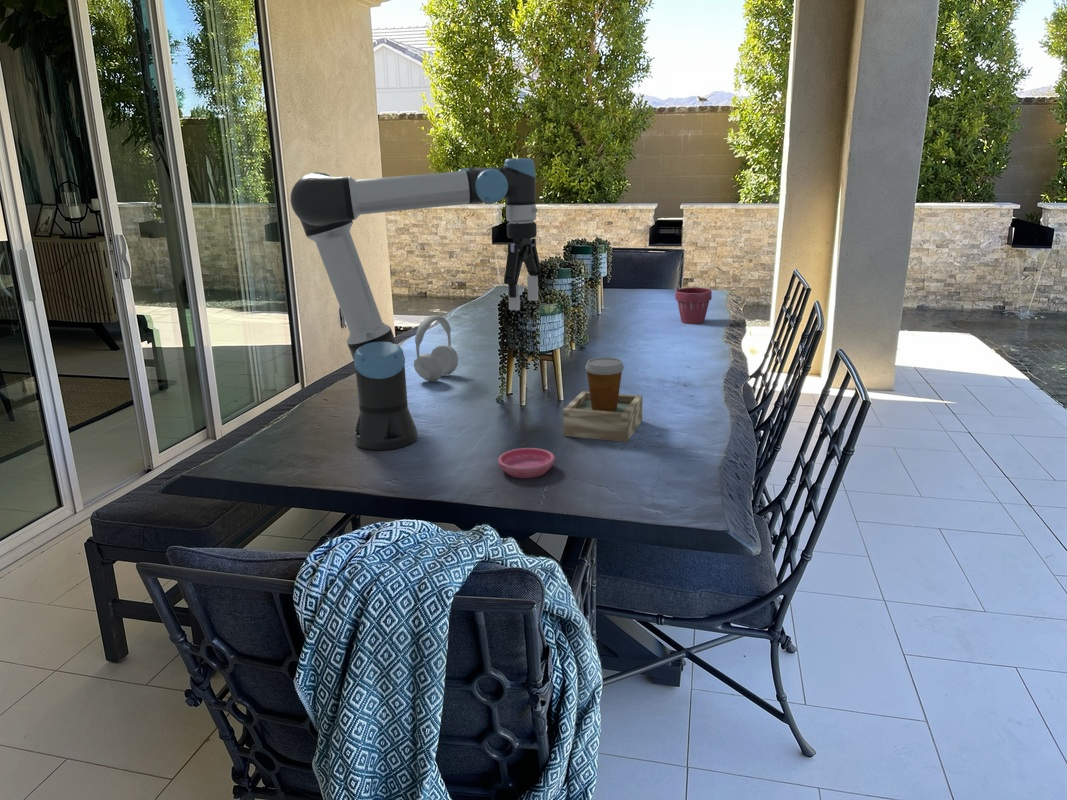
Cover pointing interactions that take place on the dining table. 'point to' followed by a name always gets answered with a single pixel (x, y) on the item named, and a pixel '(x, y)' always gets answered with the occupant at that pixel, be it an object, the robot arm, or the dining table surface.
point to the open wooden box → (602, 418)
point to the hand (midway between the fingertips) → (524, 305)
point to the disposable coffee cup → (604, 382)
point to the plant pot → (693, 304)
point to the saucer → (526, 462)
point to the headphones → (435, 353)
